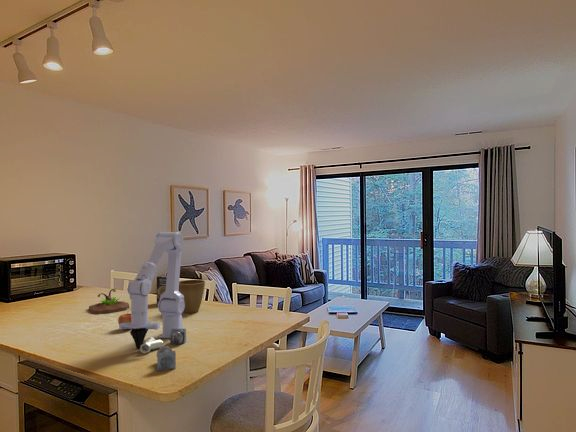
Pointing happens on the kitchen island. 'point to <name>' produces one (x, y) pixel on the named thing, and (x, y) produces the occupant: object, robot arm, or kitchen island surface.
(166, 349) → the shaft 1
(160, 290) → the coffee box
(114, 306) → the plant
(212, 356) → the kitchen island surface
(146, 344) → the pipe fitting
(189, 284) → the plant pot
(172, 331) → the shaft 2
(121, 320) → the apple
